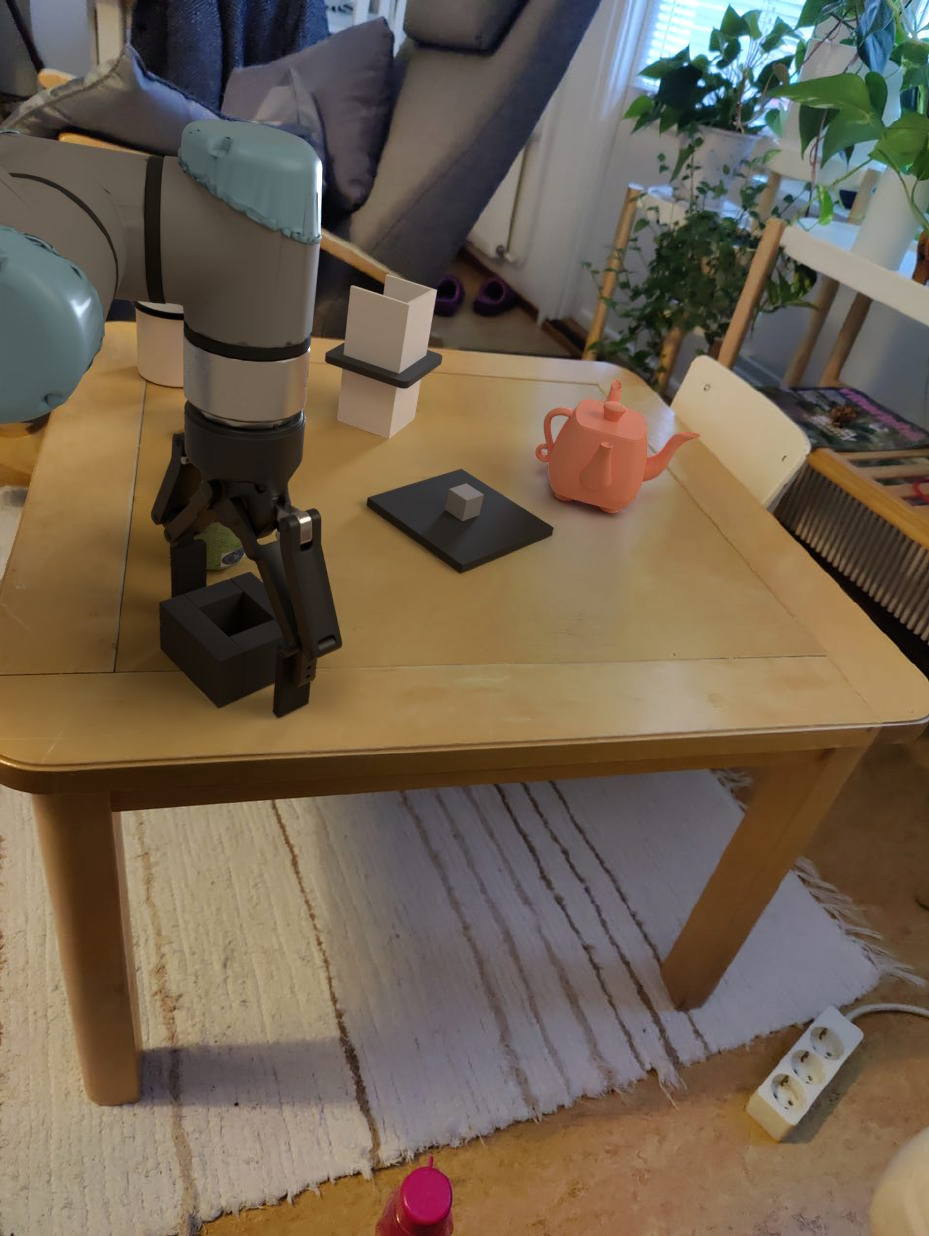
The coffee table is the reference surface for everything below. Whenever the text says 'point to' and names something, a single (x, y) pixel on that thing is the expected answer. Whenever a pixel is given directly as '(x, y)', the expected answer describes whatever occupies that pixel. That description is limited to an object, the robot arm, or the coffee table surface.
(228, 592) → the black hollow square block
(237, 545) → the beverage can
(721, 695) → the coffee table surface
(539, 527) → the base pad
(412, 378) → the candle holder
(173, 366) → the mug
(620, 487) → the teapot
